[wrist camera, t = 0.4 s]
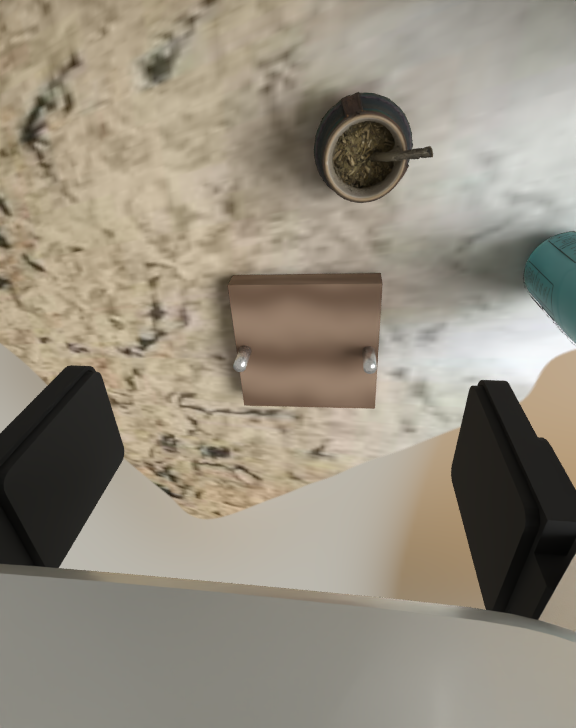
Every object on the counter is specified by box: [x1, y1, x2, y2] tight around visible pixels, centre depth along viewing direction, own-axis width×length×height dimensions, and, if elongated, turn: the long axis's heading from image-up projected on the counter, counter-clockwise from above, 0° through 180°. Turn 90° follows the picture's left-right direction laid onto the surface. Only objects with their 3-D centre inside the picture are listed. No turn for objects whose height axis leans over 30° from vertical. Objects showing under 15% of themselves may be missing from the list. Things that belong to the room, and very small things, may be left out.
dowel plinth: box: [228, 273, 382, 408], centre depth 43 cm, size 14×14×6 cm
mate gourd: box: [314, 92, 433, 203], centre depth 31 cm, size 7×8×10 cm
